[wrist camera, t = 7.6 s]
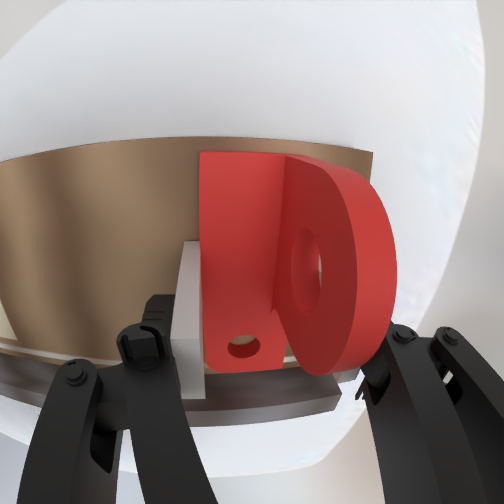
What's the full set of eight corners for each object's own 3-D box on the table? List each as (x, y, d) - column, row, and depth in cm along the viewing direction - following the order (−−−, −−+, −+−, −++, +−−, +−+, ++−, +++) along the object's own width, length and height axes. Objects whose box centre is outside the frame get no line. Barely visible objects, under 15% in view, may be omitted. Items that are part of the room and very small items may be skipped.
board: (-18, 345, 15) (-38, 378, 11) (-68, 186, 9) (-105, 205, 4) (312, 361, 20) (334, 410, 16) (354, 148, 14) (410, 161, 9)
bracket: (200, 150, 11) (186, 182, 4) (303, 154, 12) (426, 197, 5) (206, 360, 16) (215, 478, 9) (277, 355, 17) (314, 465, 10)
